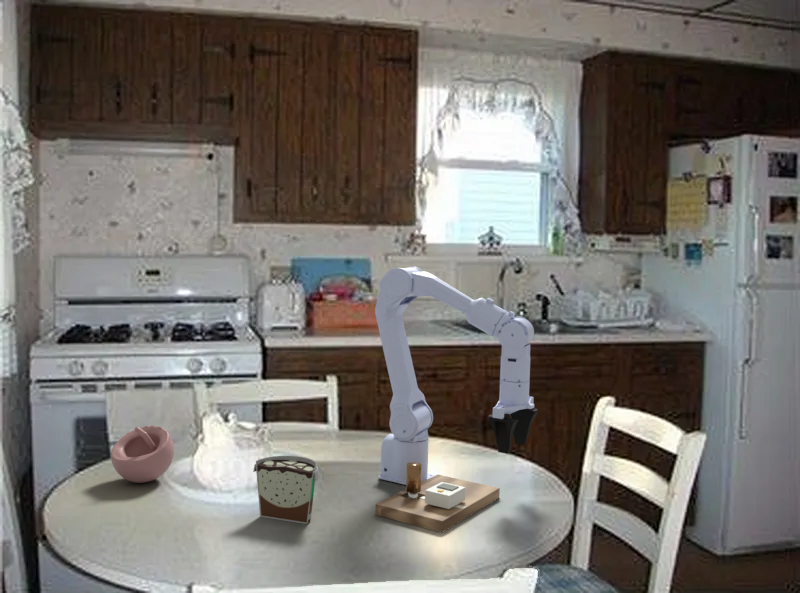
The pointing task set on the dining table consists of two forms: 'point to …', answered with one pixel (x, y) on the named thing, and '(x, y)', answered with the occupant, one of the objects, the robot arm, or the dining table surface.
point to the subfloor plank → (433, 515)
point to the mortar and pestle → (143, 454)
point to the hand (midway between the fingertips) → (512, 448)
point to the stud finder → (445, 495)
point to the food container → (286, 487)
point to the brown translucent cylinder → (413, 479)
